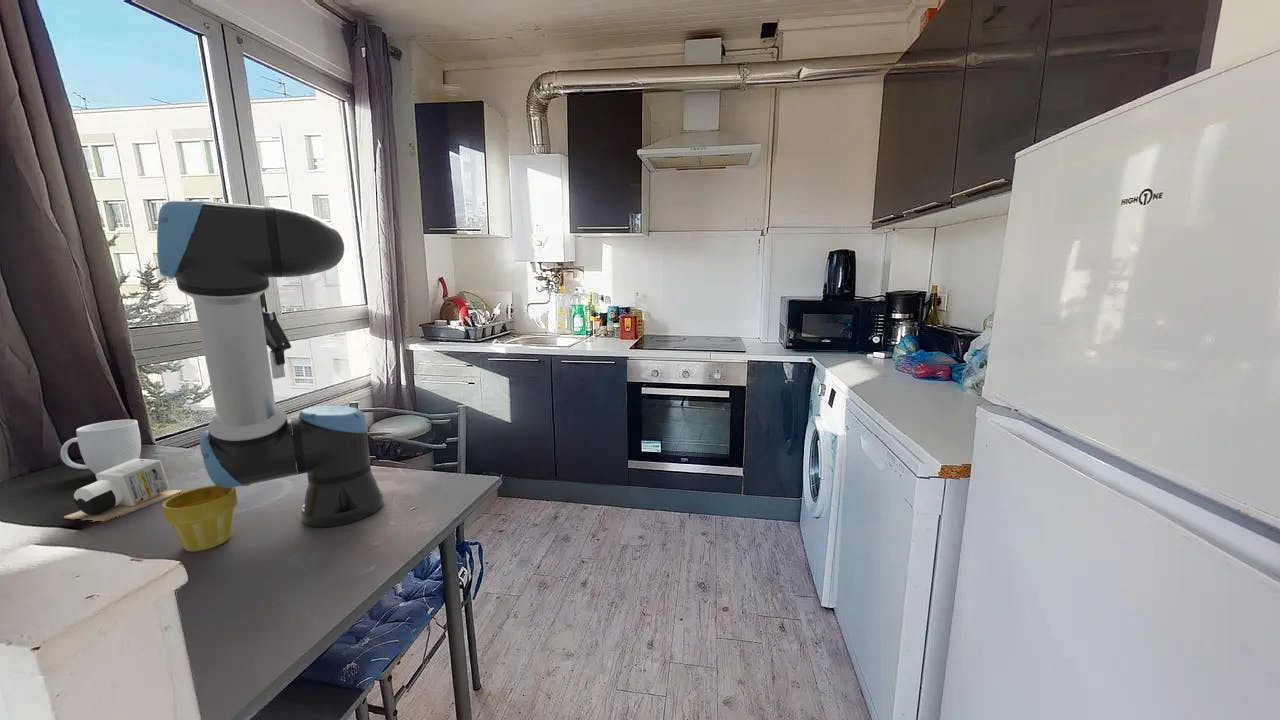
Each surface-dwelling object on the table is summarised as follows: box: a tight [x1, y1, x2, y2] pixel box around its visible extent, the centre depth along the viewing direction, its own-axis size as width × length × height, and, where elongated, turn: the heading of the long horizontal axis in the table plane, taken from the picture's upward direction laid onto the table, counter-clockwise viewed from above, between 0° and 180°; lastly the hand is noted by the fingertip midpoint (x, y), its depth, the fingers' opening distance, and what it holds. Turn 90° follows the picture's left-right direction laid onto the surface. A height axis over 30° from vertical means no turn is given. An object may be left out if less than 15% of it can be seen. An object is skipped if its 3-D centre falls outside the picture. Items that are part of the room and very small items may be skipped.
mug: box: [60, 419, 142, 475], centre depth 126 cm, size 15×11×13 cm
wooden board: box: [63, 488, 184, 523], centre depth 108 cm, size 11×15×1 cm
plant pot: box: [161, 484, 238, 553], centre depth 91 cm, size 10×10×10 cm
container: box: [73, 458, 171, 515], centre depth 106 cm, size 8×8×13 cm
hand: (255, 377), depth 119 cm, fingers open, 13 cm apart
